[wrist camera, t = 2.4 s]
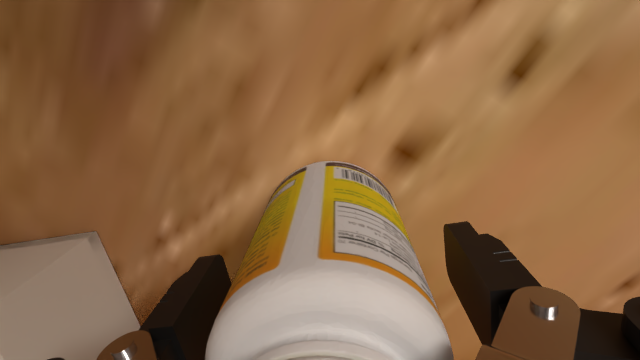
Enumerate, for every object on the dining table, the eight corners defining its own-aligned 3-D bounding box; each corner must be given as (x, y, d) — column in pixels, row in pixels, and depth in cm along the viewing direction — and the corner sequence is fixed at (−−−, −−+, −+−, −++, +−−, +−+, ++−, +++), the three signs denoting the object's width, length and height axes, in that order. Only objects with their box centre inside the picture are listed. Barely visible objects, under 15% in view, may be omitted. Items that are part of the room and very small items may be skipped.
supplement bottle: (281, 274, 16) (194, 604, 6) (258, 163, 14) (88, 395, 4) (399, 265, 15) (499, 607, 6) (393, 149, 14) (526, 375, 4)
